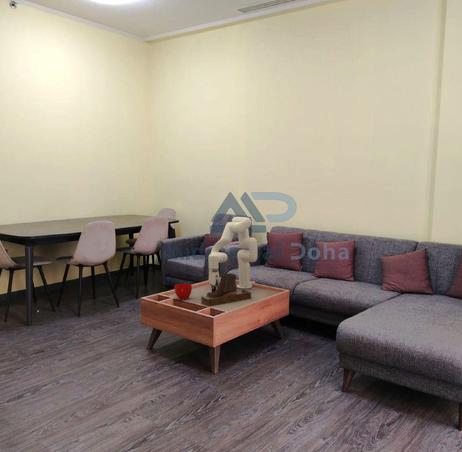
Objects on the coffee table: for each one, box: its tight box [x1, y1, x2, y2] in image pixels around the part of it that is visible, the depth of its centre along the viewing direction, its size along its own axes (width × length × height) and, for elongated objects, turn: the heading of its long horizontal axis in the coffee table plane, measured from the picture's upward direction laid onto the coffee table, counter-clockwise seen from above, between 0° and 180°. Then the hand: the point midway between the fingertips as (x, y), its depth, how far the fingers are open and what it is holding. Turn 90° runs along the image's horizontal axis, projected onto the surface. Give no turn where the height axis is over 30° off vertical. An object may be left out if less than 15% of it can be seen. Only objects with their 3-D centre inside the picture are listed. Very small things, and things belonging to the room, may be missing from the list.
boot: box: [206, 272, 238, 299], centre depth 342 cm, size 9×24×20 cm, turn 76°
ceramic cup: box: [174, 283, 193, 301], centre depth 343 cm, size 13×17×10 cm
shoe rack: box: [200, 289, 252, 307], centre depth 339 cm, size 37×11×5 cm, turn 124°
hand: (213, 293), depth 349 cm, fingers closed
